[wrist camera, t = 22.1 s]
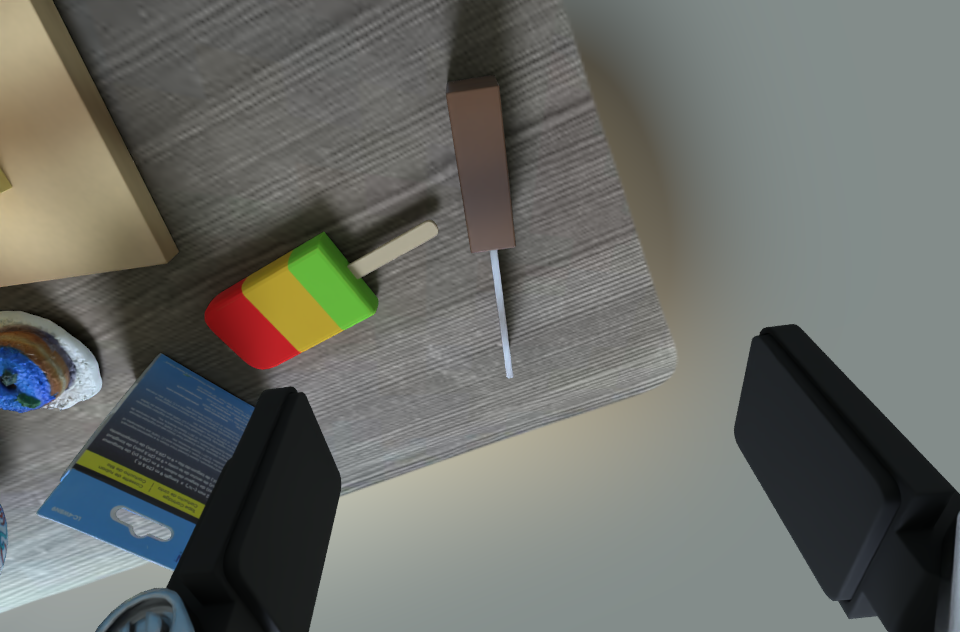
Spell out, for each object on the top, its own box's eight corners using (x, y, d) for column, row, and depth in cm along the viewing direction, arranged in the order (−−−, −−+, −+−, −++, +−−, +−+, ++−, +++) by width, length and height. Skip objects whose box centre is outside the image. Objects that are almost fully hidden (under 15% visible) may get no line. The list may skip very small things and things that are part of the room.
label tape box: (133, 381, 35) (-2, 551, 25) (163, 347, 33) (33, 511, 23) (248, 444, 38) (173, 614, 28) (280, 415, 37) (212, 584, 27)
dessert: (-24, 288, 30) (-22, 376, 27) (111, 301, 35) (123, 375, 32) (-51, 366, 33) (-52, 449, 31) (75, 366, 38) (83, 438, 36)
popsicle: (204, 299, 32) (190, 317, 30) (409, 177, 28) (407, 189, 26) (266, 360, 34) (258, 379, 33) (461, 256, 31) (461, 271, 29)
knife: (446, 81, 25) (445, 93, 23) (494, 74, 25) (499, 84, 23) (488, 353, 35) (491, 382, 32) (524, 348, 35) (529, 377, 32)
